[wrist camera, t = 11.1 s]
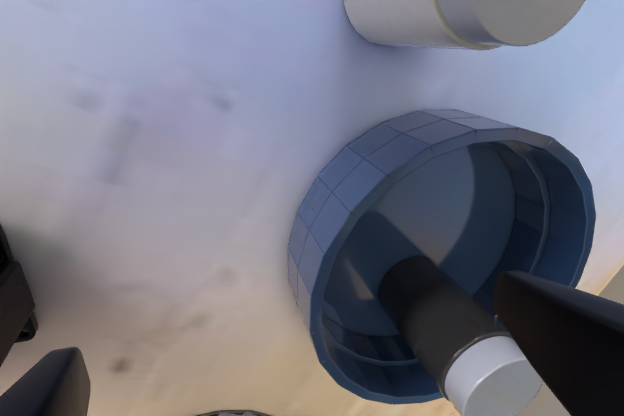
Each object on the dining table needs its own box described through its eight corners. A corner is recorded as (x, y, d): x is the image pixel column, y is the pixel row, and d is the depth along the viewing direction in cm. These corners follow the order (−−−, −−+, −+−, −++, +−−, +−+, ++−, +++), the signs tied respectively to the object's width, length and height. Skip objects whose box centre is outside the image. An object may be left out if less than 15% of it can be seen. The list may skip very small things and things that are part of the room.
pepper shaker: (374, 320, 25) (452, 442, 17) (380, 261, 23) (471, 369, 15) (435, 308, 26) (532, 417, 19) (446, 251, 24) (559, 347, 17)
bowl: (287, 363, 25) (308, 434, 20) (283, 114, 18) (313, 138, 14) (493, 319, 29) (547, 370, 25) (551, 103, 22) (639, 120, 18)
